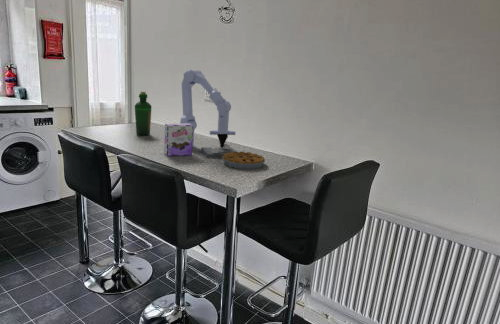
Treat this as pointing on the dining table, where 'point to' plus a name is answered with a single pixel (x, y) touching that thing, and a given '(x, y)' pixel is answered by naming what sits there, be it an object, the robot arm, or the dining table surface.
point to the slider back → (226, 146)
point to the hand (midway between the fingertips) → (221, 147)
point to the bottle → (143, 115)
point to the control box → (210, 154)
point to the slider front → (215, 149)
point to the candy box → (178, 139)
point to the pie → (243, 160)
